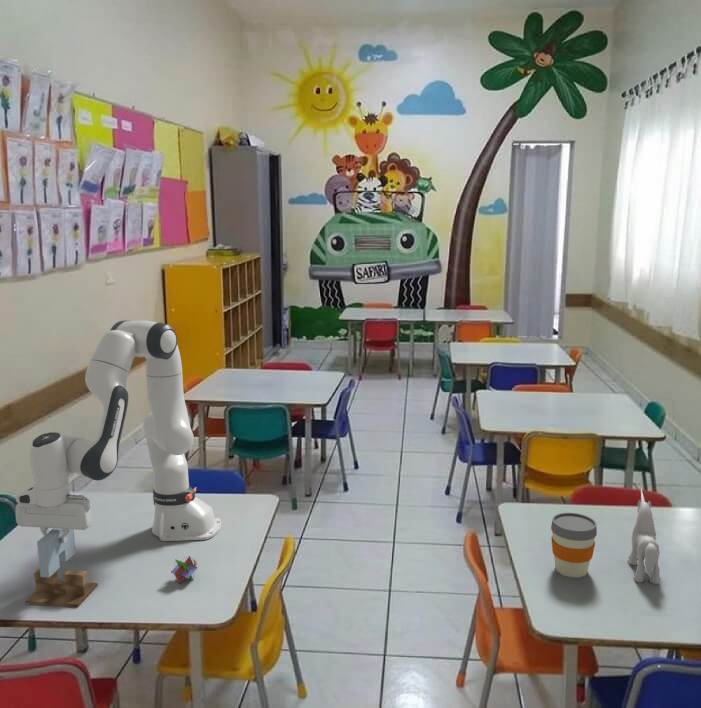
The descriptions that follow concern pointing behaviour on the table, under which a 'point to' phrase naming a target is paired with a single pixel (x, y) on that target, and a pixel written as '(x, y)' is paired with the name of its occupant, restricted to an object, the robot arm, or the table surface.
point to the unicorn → (645, 544)
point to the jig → (61, 589)
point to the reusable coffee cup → (573, 543)
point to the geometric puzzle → (184, 569)
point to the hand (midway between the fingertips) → (56, 541)
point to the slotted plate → (54, 551)
